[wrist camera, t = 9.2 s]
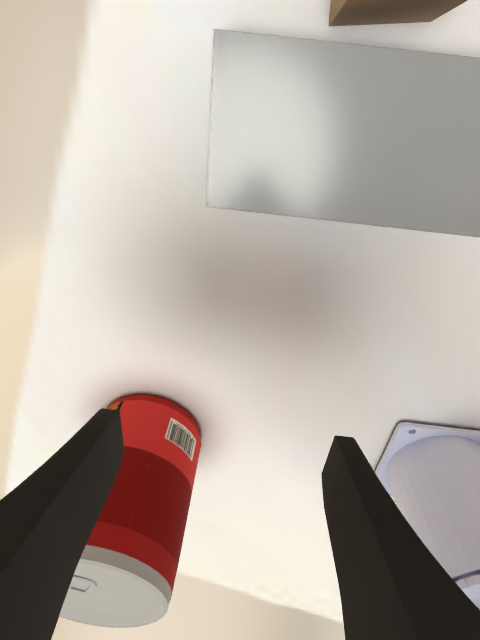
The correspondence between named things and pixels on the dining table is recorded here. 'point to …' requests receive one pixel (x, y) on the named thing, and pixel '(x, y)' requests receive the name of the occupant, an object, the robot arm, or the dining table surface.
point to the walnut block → (387, 11)
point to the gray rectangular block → (345, 133)
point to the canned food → (139, 520)
